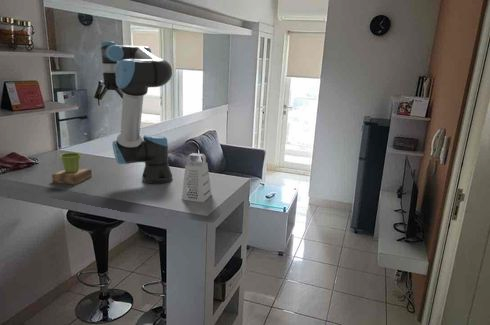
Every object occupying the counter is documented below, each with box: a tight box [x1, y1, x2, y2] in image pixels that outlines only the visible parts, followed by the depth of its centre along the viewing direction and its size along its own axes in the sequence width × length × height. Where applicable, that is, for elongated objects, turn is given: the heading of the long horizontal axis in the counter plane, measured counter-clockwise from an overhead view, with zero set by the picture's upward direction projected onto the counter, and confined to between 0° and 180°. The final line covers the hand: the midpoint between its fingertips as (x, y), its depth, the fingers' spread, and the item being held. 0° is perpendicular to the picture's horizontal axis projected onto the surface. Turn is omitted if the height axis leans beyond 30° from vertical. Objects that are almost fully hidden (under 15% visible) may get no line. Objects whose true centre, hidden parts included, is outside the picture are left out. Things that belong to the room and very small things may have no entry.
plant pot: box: [59, 152, 81, 173], centre depth 188 cm, size 9×9×9 cm
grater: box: [181, 152, 213, 203], centre depth 168 cm, size 10×10×20 cm
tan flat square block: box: [51, 167, 93, 185], centre depth 190 cm, size 13×13×4 cm
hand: (113, 112), depth 202 cm, fingers open, 13 cm apart
